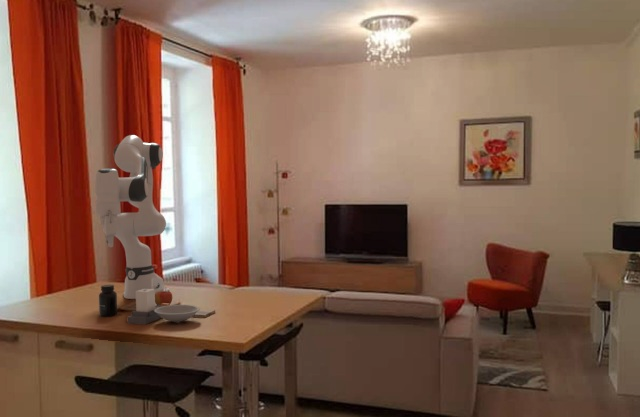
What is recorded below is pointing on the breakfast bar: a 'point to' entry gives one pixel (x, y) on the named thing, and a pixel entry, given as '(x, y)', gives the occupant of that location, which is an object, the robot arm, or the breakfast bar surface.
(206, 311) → the cork pad
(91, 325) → the breakfast bar surface
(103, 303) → the supplement bottle
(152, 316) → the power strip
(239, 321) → the breakfast bar surface
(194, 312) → the dish
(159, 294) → the apple
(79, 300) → the breakfast bar surface
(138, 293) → the block
